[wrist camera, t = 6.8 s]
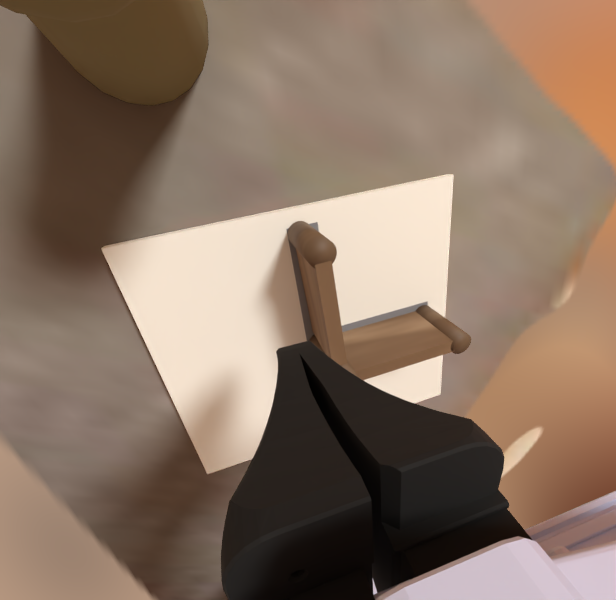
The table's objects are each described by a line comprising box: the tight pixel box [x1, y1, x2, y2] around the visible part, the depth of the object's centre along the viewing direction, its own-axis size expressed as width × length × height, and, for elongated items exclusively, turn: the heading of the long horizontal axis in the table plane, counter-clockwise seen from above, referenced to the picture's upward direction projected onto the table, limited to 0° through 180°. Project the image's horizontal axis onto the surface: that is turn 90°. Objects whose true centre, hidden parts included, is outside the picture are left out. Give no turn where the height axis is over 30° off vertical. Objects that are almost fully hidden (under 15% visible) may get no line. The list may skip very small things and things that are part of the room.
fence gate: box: [288, 221, 347, 365], centre depth 17 cm, size 1×7×4 cm, turn 10°
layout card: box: [101, 174, 453, 474], centre depth 21 cm, size 18×20×1 cm
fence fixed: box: [309, 305, 471, 380], centre depth 20 cm, size 2×9×4 cm, turn 99°
